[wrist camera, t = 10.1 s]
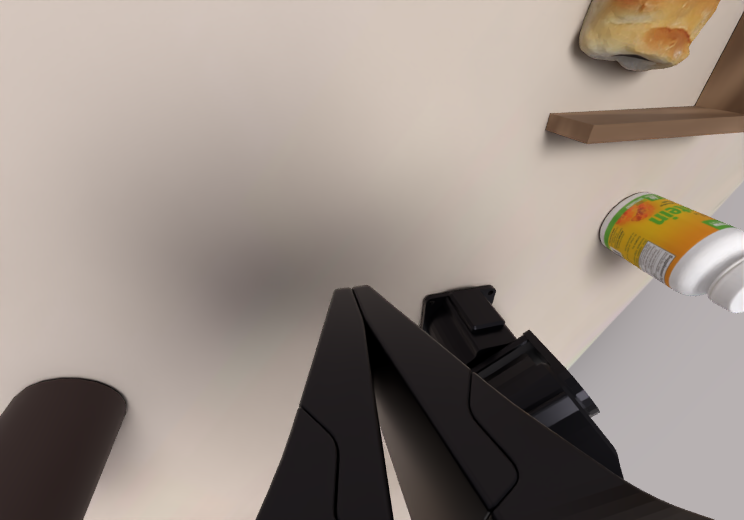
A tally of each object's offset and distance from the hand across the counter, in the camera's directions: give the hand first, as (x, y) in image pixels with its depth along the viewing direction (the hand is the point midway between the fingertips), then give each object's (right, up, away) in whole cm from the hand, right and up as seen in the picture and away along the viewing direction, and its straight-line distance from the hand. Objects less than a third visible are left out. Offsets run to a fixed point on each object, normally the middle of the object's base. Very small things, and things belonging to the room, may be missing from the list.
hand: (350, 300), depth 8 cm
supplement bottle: (+23, +5, +20) cm, 30 cm away
